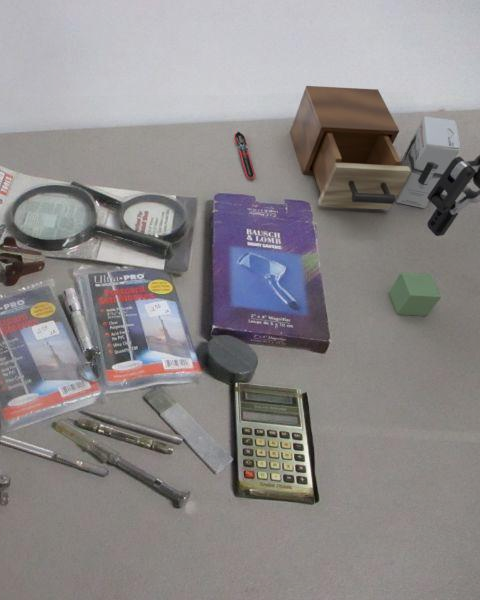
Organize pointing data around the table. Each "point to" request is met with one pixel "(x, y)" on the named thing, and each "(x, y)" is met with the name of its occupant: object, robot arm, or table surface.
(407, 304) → the block
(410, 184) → the ink box
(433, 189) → the robot arm
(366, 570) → the table surface
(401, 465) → the table surface
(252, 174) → the red black pliers
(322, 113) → the cabinet
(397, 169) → the drawer
